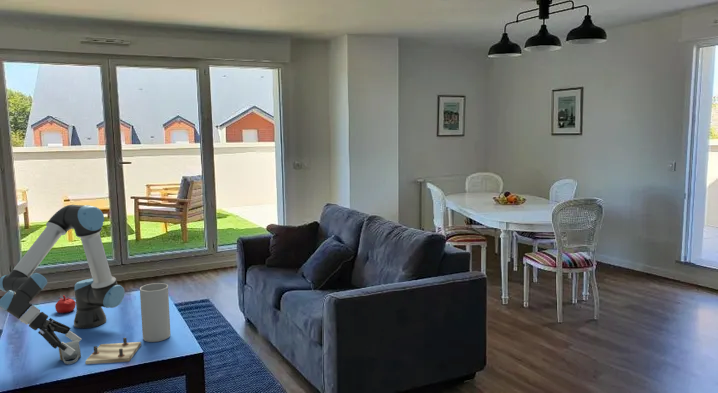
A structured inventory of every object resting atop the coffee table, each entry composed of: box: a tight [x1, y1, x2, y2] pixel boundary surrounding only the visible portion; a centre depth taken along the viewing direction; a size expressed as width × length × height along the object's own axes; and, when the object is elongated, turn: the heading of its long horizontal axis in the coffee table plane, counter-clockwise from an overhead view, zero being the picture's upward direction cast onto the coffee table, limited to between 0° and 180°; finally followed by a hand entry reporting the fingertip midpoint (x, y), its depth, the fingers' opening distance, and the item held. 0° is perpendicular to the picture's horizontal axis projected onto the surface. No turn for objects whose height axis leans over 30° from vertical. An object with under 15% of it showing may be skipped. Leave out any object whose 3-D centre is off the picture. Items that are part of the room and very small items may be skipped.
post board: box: [85, 337, 142, 365], centre depth 242 cm, size 18×18×4 cm
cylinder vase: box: [139, 282, 171, 343], centre depth 259 cm, size 12×12×25 cm
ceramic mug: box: [58, 340, 82, 365], centre depth 237 cm, size 11×8×8 cm
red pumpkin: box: [54, 294, 76, 314], centre depth 301 cm, size 10×10×9 cm
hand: (76, 347), depth 240 cm, fingers open, 13 cm apart
